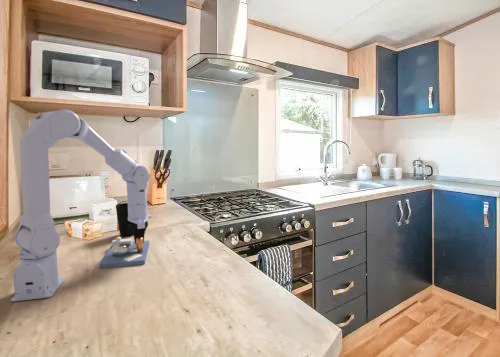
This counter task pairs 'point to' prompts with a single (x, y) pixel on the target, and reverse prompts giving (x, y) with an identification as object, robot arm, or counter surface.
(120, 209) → the cup
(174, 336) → the counter surface
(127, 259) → the plate
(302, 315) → the counter surface
